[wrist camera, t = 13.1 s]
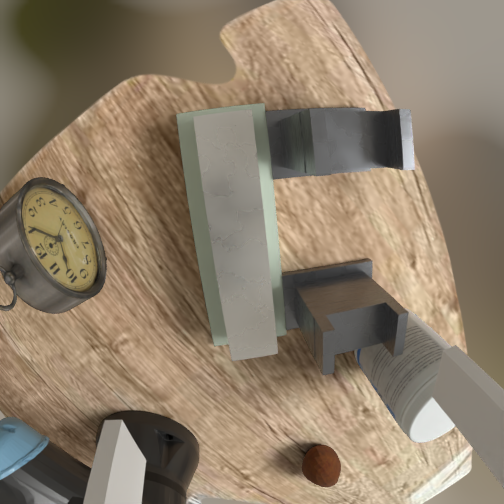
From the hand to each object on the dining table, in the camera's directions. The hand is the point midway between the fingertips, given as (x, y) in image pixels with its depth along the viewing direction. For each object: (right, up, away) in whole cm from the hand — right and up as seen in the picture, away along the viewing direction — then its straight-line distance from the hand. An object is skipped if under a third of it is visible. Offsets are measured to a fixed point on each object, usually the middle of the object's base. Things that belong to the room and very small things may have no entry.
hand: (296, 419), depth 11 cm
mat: (-3, +8, +20) cm, 22 cm away
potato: (+9, -26, +33) cm, 43 cm away
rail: (-3, +8, +20) cm, 22 cm away
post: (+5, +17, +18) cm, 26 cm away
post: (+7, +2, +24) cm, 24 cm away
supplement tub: (+15, -4, +27) cm, 31 cm away
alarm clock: (-19, +9, +18) cm, 28 cm away
